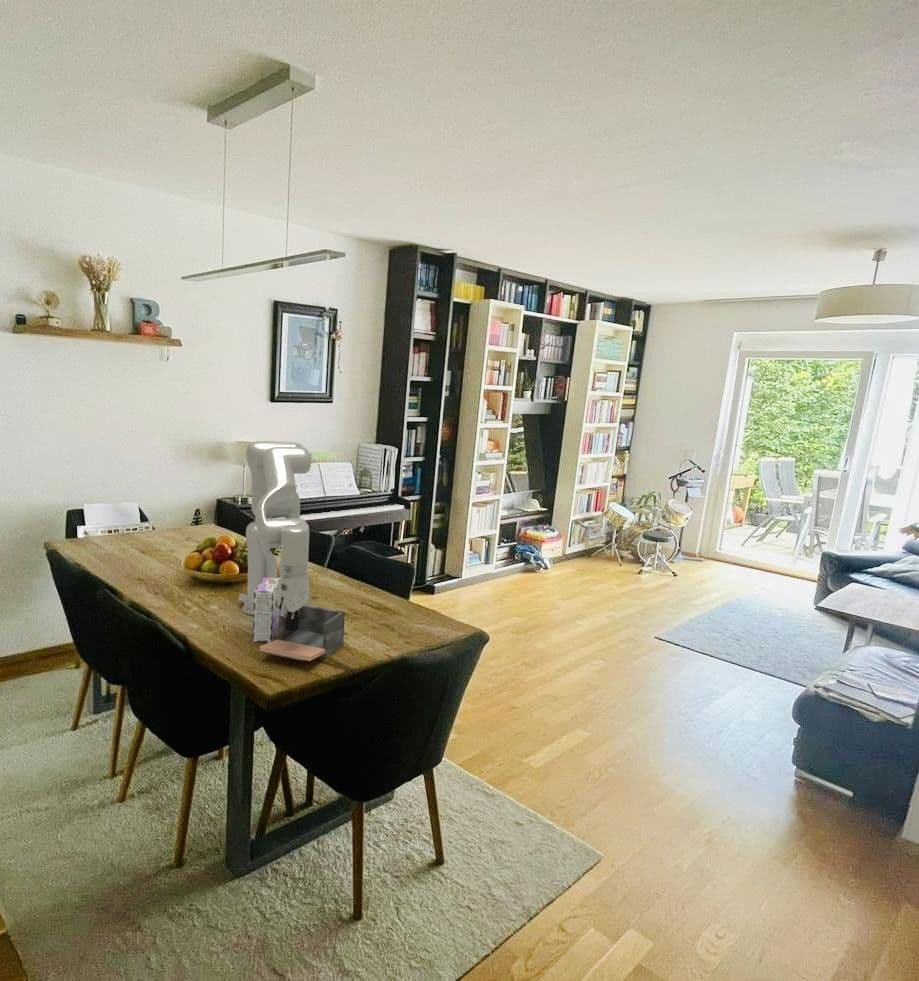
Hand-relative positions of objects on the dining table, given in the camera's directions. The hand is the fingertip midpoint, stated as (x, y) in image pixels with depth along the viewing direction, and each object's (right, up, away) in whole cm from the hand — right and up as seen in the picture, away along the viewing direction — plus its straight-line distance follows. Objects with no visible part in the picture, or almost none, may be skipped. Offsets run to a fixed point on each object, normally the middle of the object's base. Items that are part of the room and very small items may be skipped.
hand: (291, 630), depth 176 cm
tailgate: (+1, -6, +6) cm, 8 cm away
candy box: (-13, -6, +19) cm, 24 cm away
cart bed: (+3, -8, +12) cm, 14 cm away
